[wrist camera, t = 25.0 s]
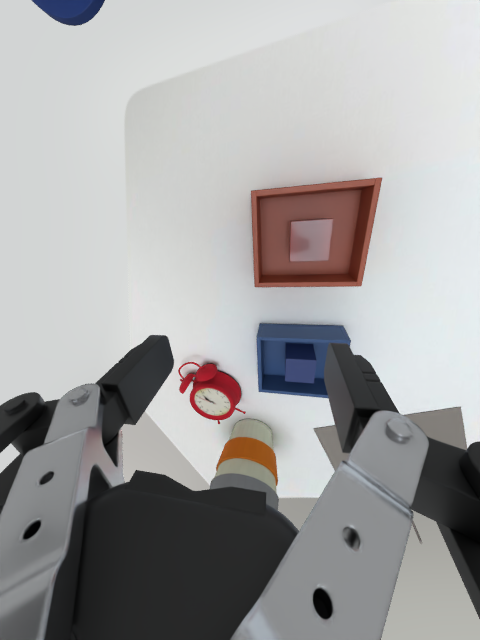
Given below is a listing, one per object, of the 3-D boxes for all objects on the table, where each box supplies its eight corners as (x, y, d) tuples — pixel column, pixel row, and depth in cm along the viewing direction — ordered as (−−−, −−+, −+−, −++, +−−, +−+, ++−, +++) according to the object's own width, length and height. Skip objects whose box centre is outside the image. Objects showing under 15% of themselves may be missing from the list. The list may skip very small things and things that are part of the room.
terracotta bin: (258, 278, 32) (254, 287, 28) (255, 194, 27) (250, 190, 23) (351, 276, 30) (361, 286, 26) (366, 183, 25) (382, 177, 21)
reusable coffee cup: (284, 419, 45) (283, 504, 32) (276, 454, 51) (272, 538, 38) (227, 408, 47) (204, 484, 34) (225, 442, 52) (205, 519, 39)
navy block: (284, 363, 38) (284, 381, 34) (285, 342, 36) (285, 358, 32) (310, 365, 37) (314, 383, 33) (313, 344, 35) (316, 360, 31)
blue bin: (261, 374, 41) (258, 391, 37) (259, 323, 36) (256, 336, 32) (333, 380, 38) (339, 399, 34) (343, 325, 33) (351, 340, 29)
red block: (288, 255, 29) (289, 262, 26) (289, 220, 28) (290, 221, 24) (322, 254, 29) (328, 260, 25) (326, 217, 27) (333, 218, 23)
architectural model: (313, 428, 44) (324, 511, 32) (460, 406, 35) (554, 509, 23) (342, 485, 51) (360, 572, 39) (471, 479, 42) (549, 588, 30)
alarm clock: (214, 429, 45) (157, 397, 39) (218, 403, 50) (168, 370, 44) (252, 414, 41) (195, 375, 34) (252, 387, 46) (202, 348, 39)
